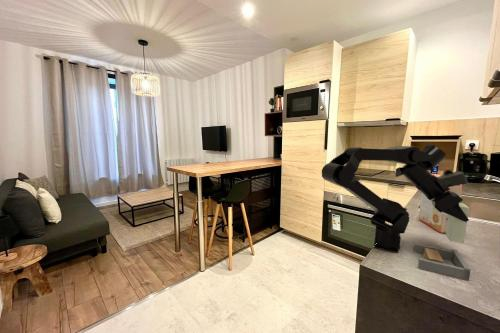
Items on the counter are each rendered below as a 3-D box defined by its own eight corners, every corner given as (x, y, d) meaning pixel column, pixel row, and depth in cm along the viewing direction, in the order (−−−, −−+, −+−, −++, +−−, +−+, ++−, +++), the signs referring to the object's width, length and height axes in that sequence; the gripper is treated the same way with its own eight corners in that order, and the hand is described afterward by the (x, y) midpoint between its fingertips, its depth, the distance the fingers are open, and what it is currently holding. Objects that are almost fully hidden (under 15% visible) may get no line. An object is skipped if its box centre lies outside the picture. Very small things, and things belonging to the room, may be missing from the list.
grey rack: (418, 268, 58) (419, 257, 58) (413, 250, 67) (414, 241, 67) (468, 280, 53) (470, 269, 52) (455, 259, 62) (456, 250, 62)
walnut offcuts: (427, 269, 58) (429, 259, 58) (423, 256, 64) (423, 247, 64) (444, 273, 56) (446, 263, 56) (438, 259, 63) (439, 250, 62)
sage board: (450, 240, 64) (455, 205, 62) (445, 234, 68) (450, 201, 67) (463, 243, 62) (469, 207, 61) (458, 237, 66) (463, 203, 65)
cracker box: (458, 234, 78) (465, 179, 76) (439, 233, 80) (445, 178, 77) (433, 220, 92) (438, 173, 89) (418, 219, 93) (422, 173, 91)
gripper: (456, 164, 56) (511, 212, 52) (439, 159, 72) (481, 195, 68) (416, 190, 61) (463, 235, 57) (408, 180, 77) (445, 214, 73)
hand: (464, 218), depth 63 cm, fingers closed on sage board, 5 cm apart
